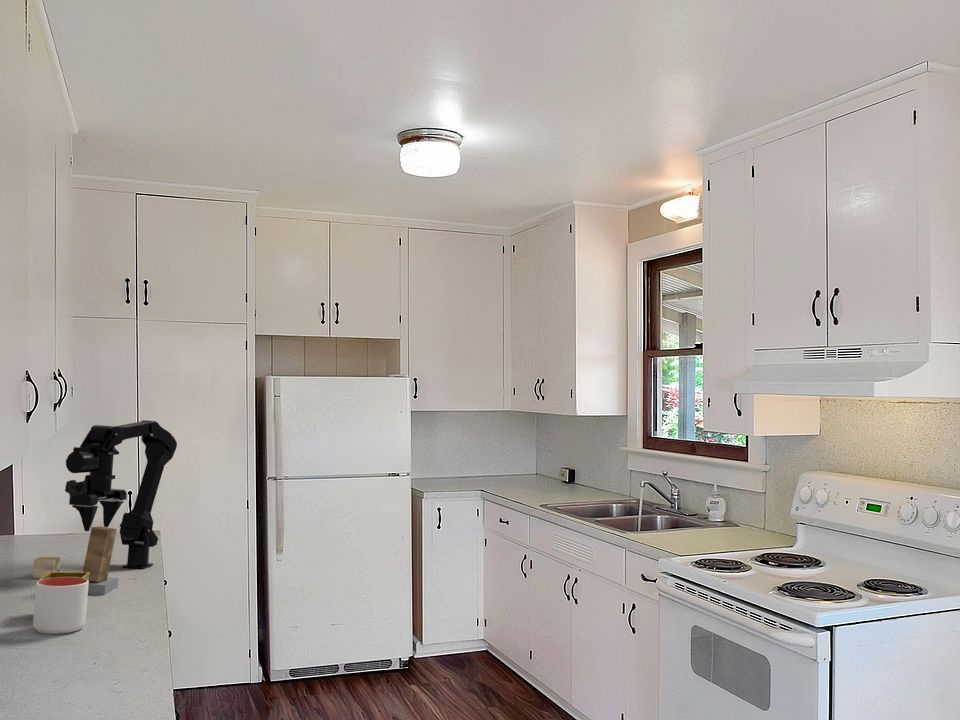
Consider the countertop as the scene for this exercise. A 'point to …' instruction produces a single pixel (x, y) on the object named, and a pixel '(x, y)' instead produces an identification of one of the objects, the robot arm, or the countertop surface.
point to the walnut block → (99, 553)
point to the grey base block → (102, 586)
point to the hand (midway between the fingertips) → (96, 528)
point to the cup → (60, 605)
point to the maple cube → (46, 566)
